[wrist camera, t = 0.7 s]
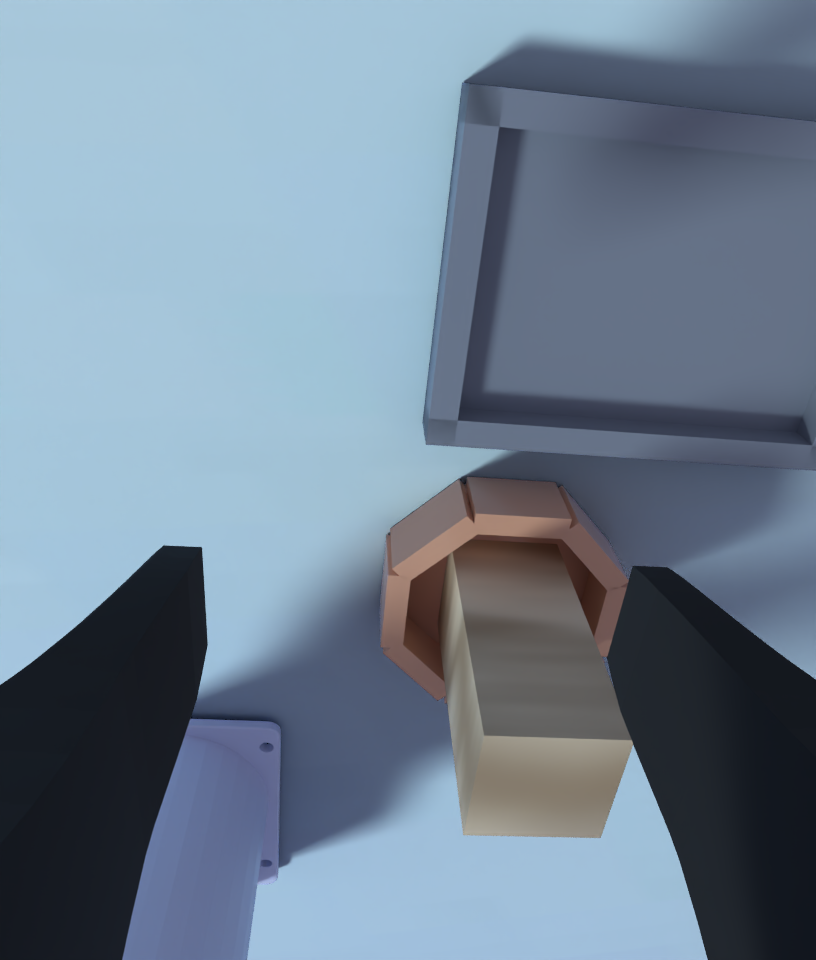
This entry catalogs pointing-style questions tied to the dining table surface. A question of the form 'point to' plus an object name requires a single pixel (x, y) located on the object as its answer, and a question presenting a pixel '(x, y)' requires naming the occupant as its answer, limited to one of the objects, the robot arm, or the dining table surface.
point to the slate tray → (627, 282)
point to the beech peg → (526, 695)
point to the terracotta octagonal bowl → (497, 517)
